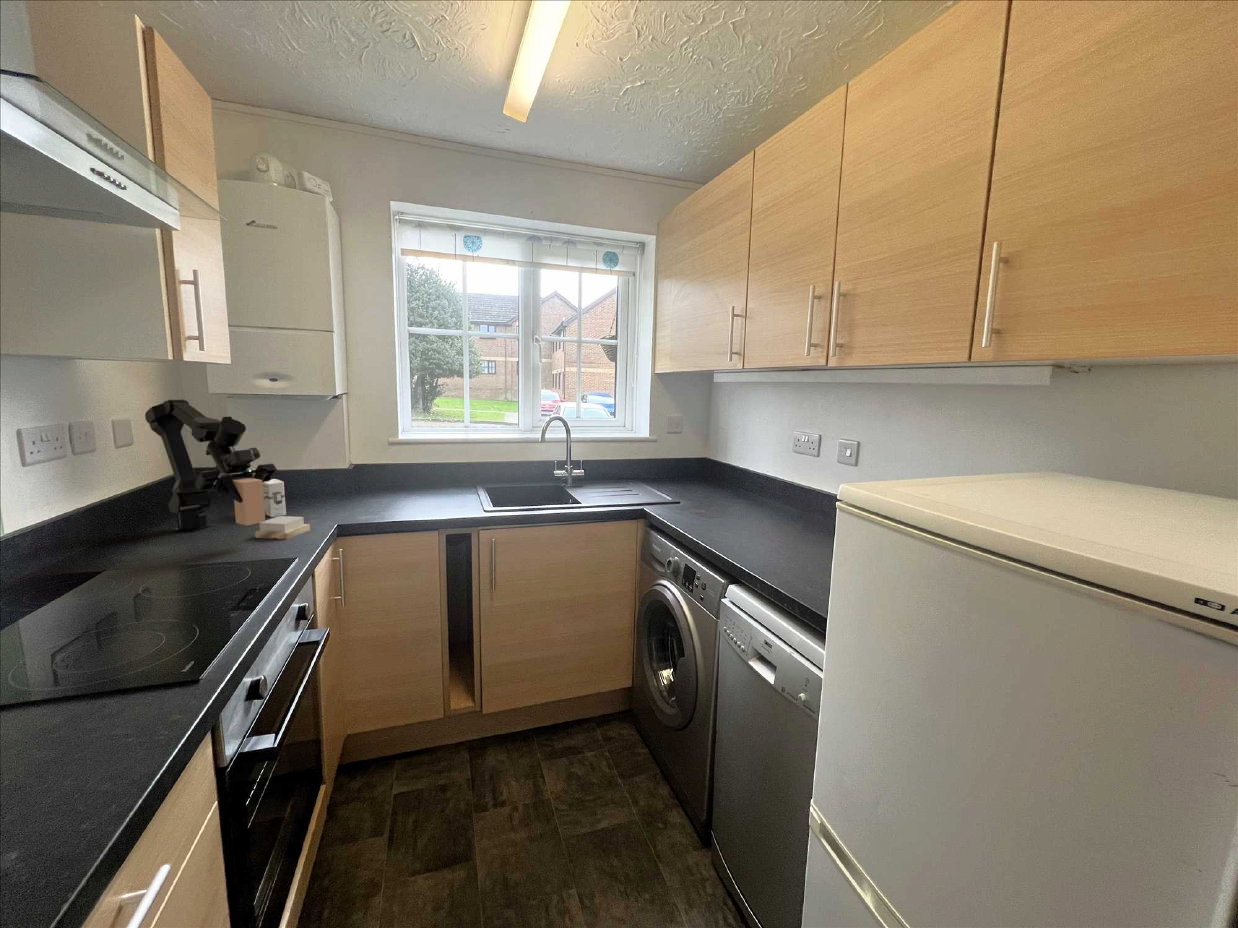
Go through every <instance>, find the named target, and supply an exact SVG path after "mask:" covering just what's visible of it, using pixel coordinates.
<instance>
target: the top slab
mask: <svg viewBox="0 0 1238 928" xmlns="http://www.w3.org/2000/svg"><path fill="white" fill-rule="evenodd" d="M258 524H259V530H260V531H274V532H287V531H289V530H292V529H294V528H297V527H300V526H302V525H304V524H305V522H304V517H303V516H289V515H288V516H285V515H281V516H275V517H271V518H270V519H267V520H266V519H265V522H261V523H258Z"/></svg>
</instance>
